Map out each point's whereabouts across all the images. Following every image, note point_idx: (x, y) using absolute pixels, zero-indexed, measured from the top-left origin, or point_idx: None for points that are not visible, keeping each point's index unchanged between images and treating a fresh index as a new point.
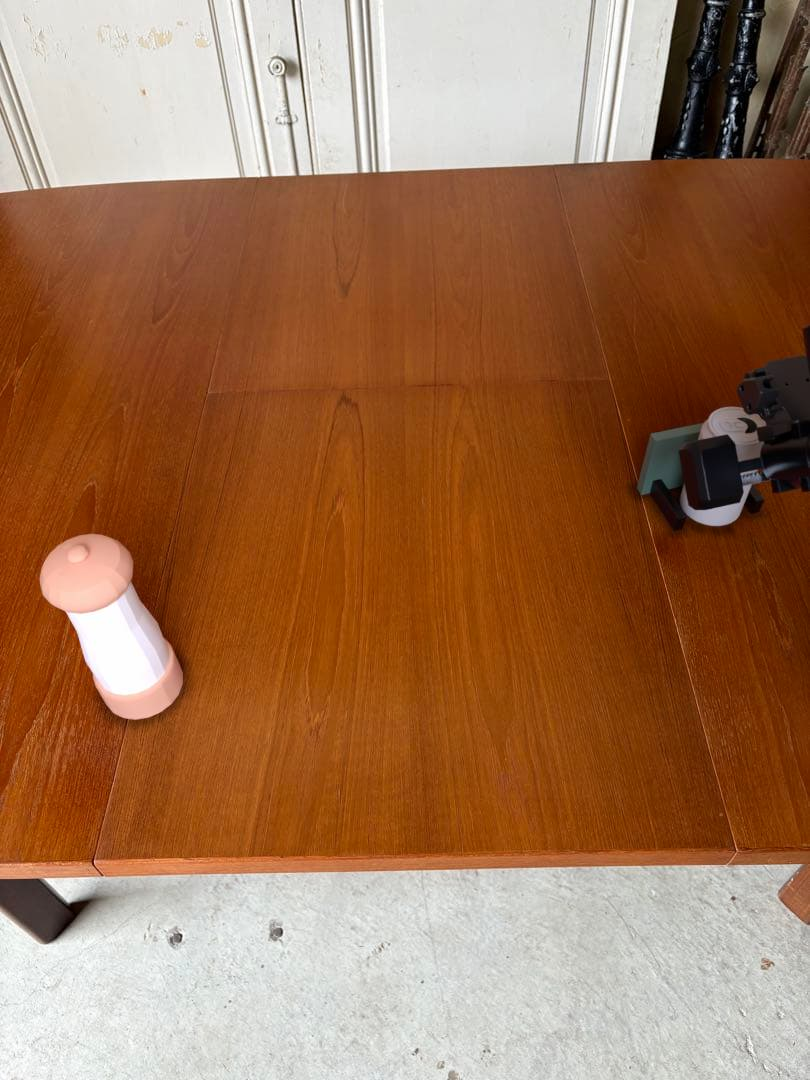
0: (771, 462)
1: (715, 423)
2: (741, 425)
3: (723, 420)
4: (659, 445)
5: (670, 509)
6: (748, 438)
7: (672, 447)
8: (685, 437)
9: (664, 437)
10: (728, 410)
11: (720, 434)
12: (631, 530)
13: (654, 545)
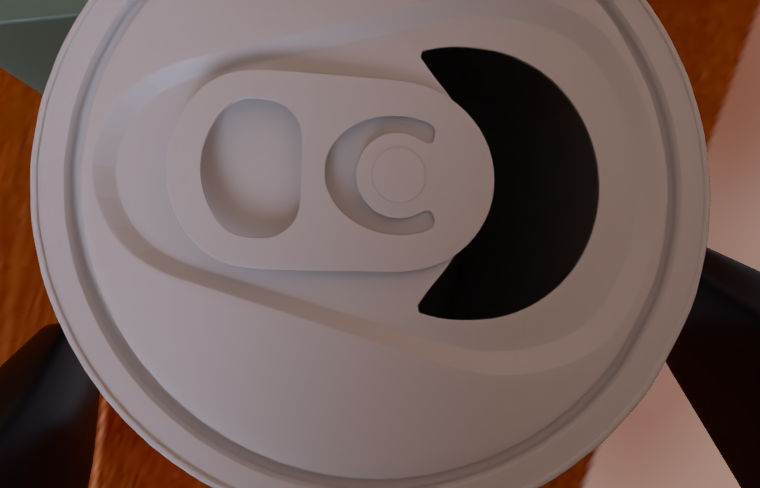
0: None
1: (143, 95)
2: (426, 181)
3: (240, 73)
4: (15, 48)
5: None
6: (421, 419)
7: None
8: None
9: (14, 7)
10: None
11: (112, 305)
12: (47, 321)
13: (105, 401)
